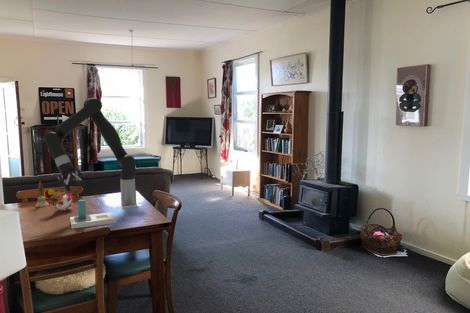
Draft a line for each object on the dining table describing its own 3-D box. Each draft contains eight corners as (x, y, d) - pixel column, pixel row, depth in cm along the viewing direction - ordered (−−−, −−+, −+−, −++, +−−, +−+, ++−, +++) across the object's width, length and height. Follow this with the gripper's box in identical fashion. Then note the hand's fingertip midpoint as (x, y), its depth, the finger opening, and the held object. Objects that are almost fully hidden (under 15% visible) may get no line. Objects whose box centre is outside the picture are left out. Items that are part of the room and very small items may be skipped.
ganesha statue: (76, 213, 226) (54, 198, 210) (57, 216, 229) (35, 201, 213) (81, 195, 234) (61, 179, 218) (63, 198, 237) (42, 182, 221)
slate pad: (89, 215, 204) (89, 215, 204) (91, 220, 195) (91, 219, 195) (74, 217, 201) (74, 216, 201) (75, 222, 192) (75, 221, 192)
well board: (111, 217, 212) (111, 212, 211) (115, 223, 199) (115, 218, 199) (70, 222, 202) (70, 217, 201) (71, 229, 189) (71, 223, 189)
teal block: (86, 216, 201) (85, 199, 199) (86, 218, 197) (86, 200, 196) (78, 217, 199) (77, 200, 198) (78, 219, 195) (78, 201, 194)
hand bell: (34, 207, 234) (32, 183, 232) (35, 204, 241) (34, 181, 240) (48, 206, 237) (47, 182, 235) (49, 203, 245) (48, 180, 243)
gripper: (56, 164, 202) (68, 190, 201) (77, 159, 214) (89, 183, 213) (49, 169, 205) (61, 195, 205) (71, 164, 218) (82, 188, 217)
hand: (76, 189), depth 209 cm, fingers open, 8 cm apart
